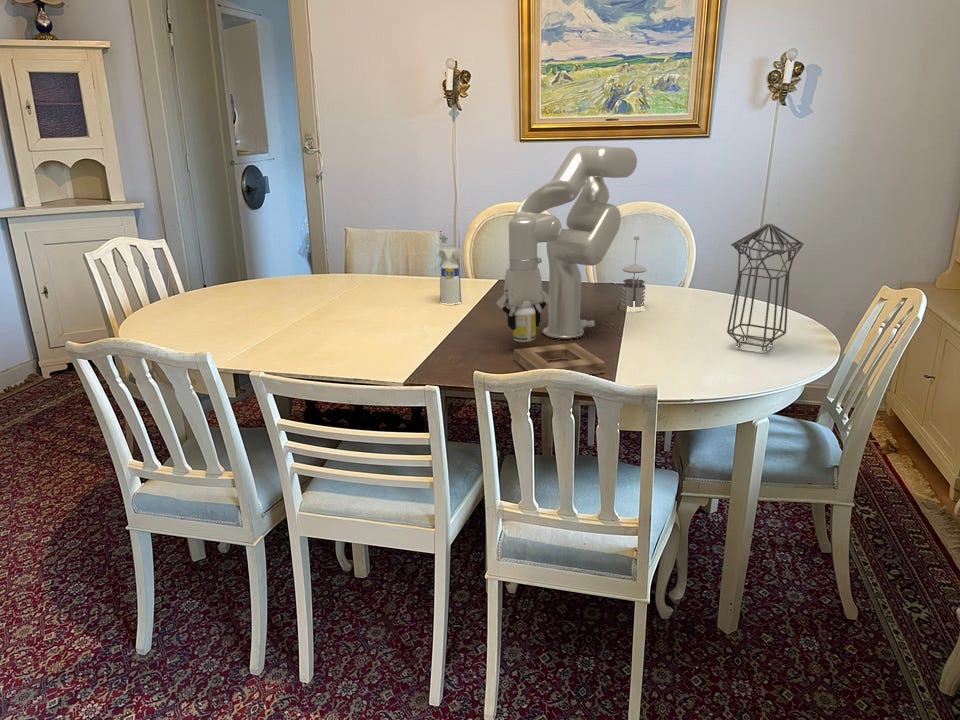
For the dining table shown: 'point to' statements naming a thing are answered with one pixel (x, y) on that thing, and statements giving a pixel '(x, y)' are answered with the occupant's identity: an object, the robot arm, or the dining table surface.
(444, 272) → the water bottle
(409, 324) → the dining table surface
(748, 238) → the geometric lantern
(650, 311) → the dining table surface
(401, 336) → the dining table surface
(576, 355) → the board with square hole
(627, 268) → the french press
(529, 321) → the pill bottle
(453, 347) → the dining table surface
